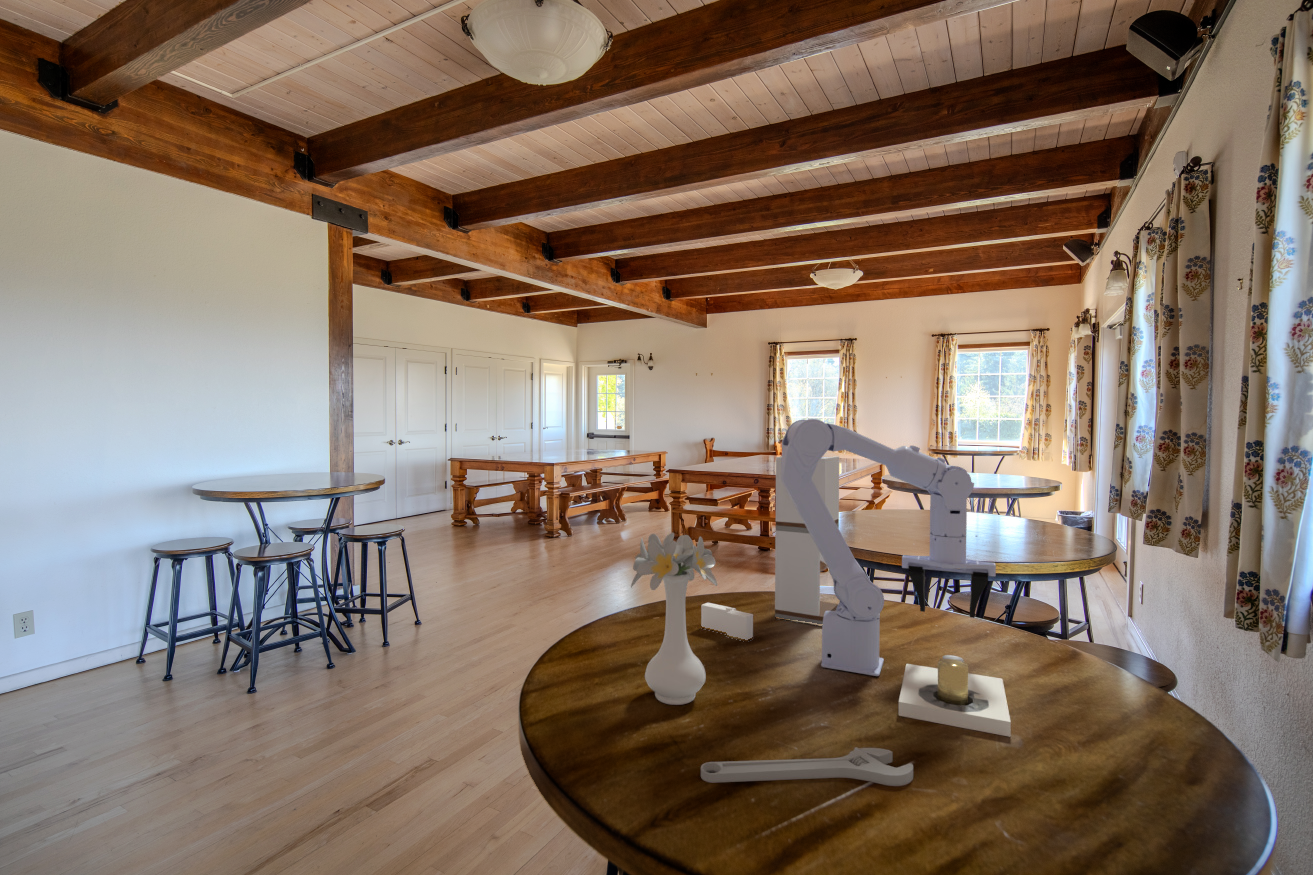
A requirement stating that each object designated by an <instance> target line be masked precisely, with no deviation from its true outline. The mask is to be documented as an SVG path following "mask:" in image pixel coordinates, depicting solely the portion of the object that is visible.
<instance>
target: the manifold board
mask: <svg viewBox="0 0 1313 875" xmlns="http://www.w3.org/2000/svg"><path fill="white" fill-rule="evenodd" d="M942 659H953V660H958V661H961V662H964V663H965V661H964V659H963V658H962V657H960V656H957V655H950V654H946V655H943V656H942ZM904 669H905V670H904V674H903V678H902V683H901V684H902V685H901V689H900V694H899V698H898V716H900V717H904V718H910V719H914V720H919V721H925V722H930V723H937V724H942V725H947V726H952V727H957V728H961V729H962V728H963V729H967V730H972V731H978V732H982V733H989V734H993V735H994V734H995V735H999V736H1005V737H1009V738H1011V732H1012V731H1011V727H1012V726H1011V725H1012V724H1011V722H1012V721H1011V716H1010V712H1009V707H1008V702H1007V697H1006V696H1007V694H1006V690H1005V686H1004V680H1003V678H1000V677H994V676H987V675H981V674H975V673H969V672H968V705H960V706H958V705H952V704H947V703H944V702H942V701H939V700H938V667H931V666H926V665H925V666H924V665H918V664H911V663H906V665H905V668H904Z"/></svg>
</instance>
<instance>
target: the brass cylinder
mask: <svg viewBox="0 0 1313 875" xmlns="http://www.w3.org/2000/svg"><path fill="white" fill-rule="evenodd" d="M937 669H938V700H939V701H942V702H944V703H947V704H952V705H958V706H960V705H968V673H969V664H967V663H965V661H964V662H961V661H958V660H953V659H943V658H942V659H941V658H940V659H939V660H938V661H937Z"/></svg>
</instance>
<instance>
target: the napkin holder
mask: <svg viewBox="0 0 1313 875" xmlns="http://www.w3.org/2000/svg"><path fill="white" fill-rule="evenodd" d="M700 610H701V613H700V614H701V616H700V618H701V622H700V624H701V626H702V627H705V628H710V629H714V630H718V631H722V632H726V633H727V635H729V636H733V637H738V638H741V639H745V640H748V639H750V638H752V637H753V638H754V614H753V613H748V612H744V611H740V610H737V608H735V607H730V606H726V605H721V604H717V603H712V602H706V603H703V604H701V608H700ZM701 626H700V627H701Z"/></svg>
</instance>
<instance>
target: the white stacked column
mask: <svg viewBox="0 0 1313 875" xmlns="http://www.w3.org/2000/svg"><path fill="white" fill-rule="evenodd" d="M781 459H782V456H776V457H775V534H774V535H775V539H774V540H775V542H774V543H775V546H774V548H775V549H774V550H775V551H774V552H775V554H774V555H775V557H774V559H775V562H774V565H775V566H774V567H775V568H774V569H775V571H774V572H775V573H774V574H775V575H774V576H775V577H774V584H775V585H774V618H775V617H779V618H784V619H790V620H798V621H805V622H812V623H817V624H823V617H824V614H825V611H836V608H837V606H838V604H839V603H835V602H828V601H822V600H821V572H823V571H825V570H827V569H828V566H827V564H826V562H825V560H824V559H823V557H822V555H821V553H820V551H819V549H818V548H817V546H816V544H815V542H814V540H813V538H812V537H811V535H810V533H809V531H808V529H807V527H806V526H805V524H804V522H803V520H802V518H801V516H800V515H799V513H798V511H797V509H796V507H795V505H794V503H793V502H792V500H791V498H790V496H789V494H788V492H787V491H786V489H785V487H784V485H783V483H782V481H781V478H780V472H781ZM812 481H813V483H814V485H815V486H816V488H817V490H818V492H819V494H820V496H821V497H822V499H823V501H824V503H825V505H826V507H827V508H828V510H829V512H830V514H831V516H832V518H833V519H834V521H835V523H836V525H837V527H838V529H839V528H840V527H839V526H840V524H839V520H840V456H837V455H836V456H828V457H822V458H821V459H820V460H819V461H818V462H817V465H816V468H815V471H814V473H813V476H812ZM839 530H840V529H839Z"/></svg>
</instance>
